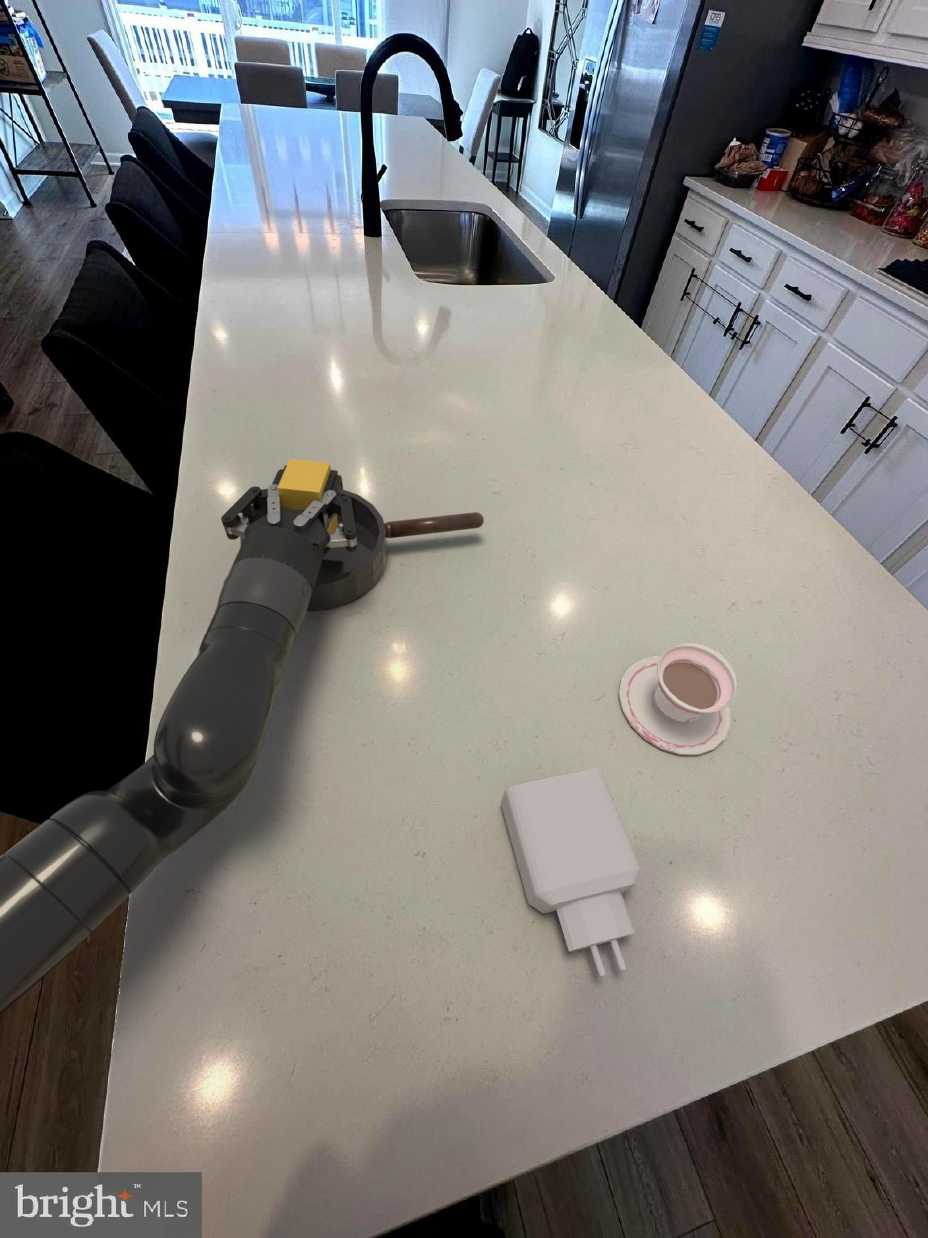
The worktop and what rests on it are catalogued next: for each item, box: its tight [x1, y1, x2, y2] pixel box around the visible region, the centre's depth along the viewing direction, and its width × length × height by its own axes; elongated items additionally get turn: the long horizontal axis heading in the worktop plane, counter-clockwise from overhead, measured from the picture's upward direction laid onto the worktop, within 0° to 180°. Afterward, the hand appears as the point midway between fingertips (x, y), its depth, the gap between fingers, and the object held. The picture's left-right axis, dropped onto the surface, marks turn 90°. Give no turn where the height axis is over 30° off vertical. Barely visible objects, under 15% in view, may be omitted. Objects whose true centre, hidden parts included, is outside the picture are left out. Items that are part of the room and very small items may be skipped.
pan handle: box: [384, 511, 485, 539], centre depth 70 cm, size 13×2×2 cm, turn 104°
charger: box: [500, 768, 642, 978], centre depth 47 cm, size 5×9×15 cm
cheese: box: [277, 458, 338, 553], centre depth 63 cm, size 5×4×9 cm
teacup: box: [618, 642, 738, 756], centre depth 58 cm, size 12×12×6 cm
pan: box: [239, 489, 388, 612], centre depth 67 cm, size 17×17×4 cm
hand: (313, 474), depth 62 cm, fingers closed on cheese, 4 cm apart
